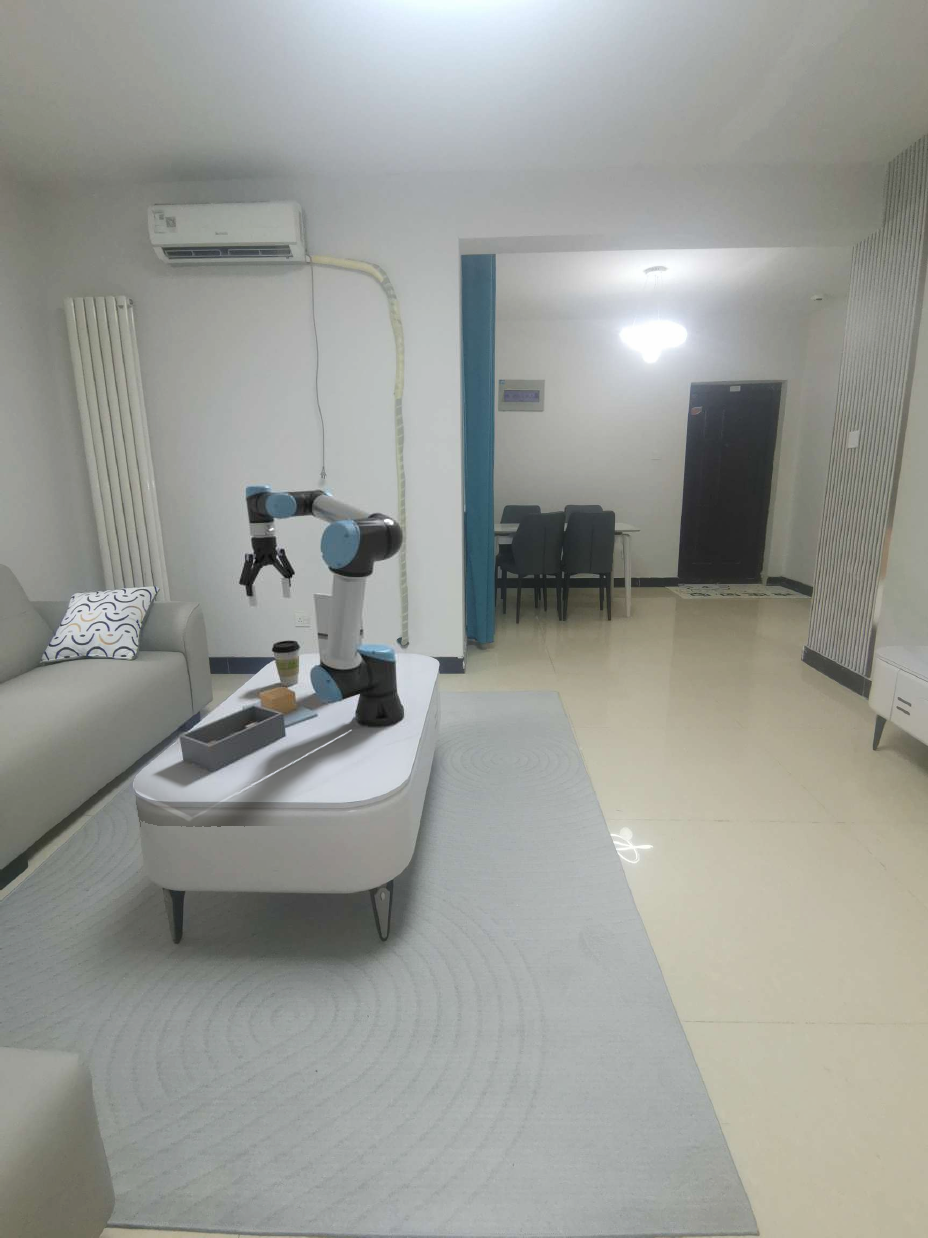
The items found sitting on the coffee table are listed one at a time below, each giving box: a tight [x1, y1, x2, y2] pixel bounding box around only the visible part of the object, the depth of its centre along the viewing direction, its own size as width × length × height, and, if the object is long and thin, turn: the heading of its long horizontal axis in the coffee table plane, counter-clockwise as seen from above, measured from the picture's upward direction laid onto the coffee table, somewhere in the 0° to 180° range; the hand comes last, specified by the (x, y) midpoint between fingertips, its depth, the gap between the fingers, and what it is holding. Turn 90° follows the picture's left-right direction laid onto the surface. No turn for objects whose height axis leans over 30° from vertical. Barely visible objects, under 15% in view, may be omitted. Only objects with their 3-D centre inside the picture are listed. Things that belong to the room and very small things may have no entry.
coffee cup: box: [271, 640, 301, 687], centre depth 215 cm, size 10×10×15 cm
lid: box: [242, 685, 319, 729], centre depth 188 cm, size 13×24×8 cm, turn 46°
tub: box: [178, 705, 287, 773], centre depth 164 cm, size 13×24×8 cm, turn 148°
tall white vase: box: [313, 592, 365, 658], centre depth 206 cm, size 11×11×35 cm
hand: (270, 601), depth 191 cm, fingers open, 13 cm apart
